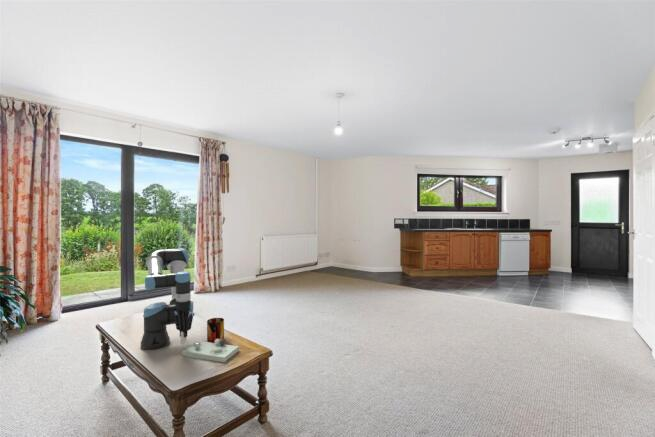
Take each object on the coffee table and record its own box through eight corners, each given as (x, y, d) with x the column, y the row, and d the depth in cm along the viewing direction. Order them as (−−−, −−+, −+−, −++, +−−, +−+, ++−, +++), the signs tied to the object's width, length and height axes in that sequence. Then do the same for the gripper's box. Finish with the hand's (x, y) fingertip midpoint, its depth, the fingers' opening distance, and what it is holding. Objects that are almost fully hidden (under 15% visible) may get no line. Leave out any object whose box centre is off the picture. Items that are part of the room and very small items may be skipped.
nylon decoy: (214, 338, 183) (219, 341, 182) (217, 336, 186) (222, 339, 185) (212, 343, 183) (217, 346, 182) (215, 341, 186) (220, 344, 185)
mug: (214, 347, 187) (214, 326, 186) (204, 339, 197) (204, 320, 196) (229, 342, 193) (229, 322, 193) (219, 335, 203) (219, 316, 203)
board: (182, 355, 175) (181, 351, 175) (198, 345, 189) (198, 340, 189) (224, 362, 168) (224, 357, 168) (238, 350, 182) (238, 346, 182)
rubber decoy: (218, 345, 182) (218, 340, 182) (221, 343, 185) (221, 338, 185) (223, 347, 181) (223, 341, 181) (226, 344, 184) (226, 339, 184)
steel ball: (193, 349, 177) (193, 343, 177) (197, 347, 180) (196, 341, 180) (198, 350, 176) (198, 344, 176) (201, 347, 180) (201, 342, 179)
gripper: (168, 301, 178) (168, 343, 179) (188, 303, 175) (189, 346, 175) (178, 297, 185) (178, 338, 186) (197, 299, 182) (198, 341, 182)
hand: (183, 342), depth 181 cm, fingers closed
